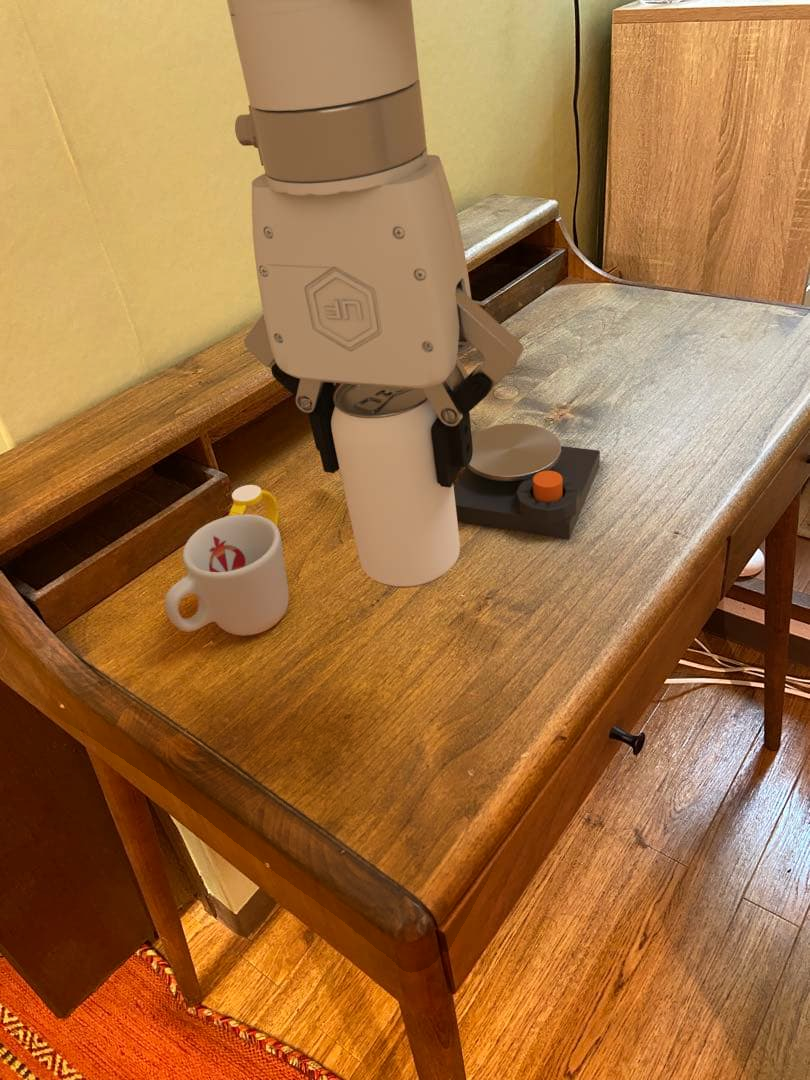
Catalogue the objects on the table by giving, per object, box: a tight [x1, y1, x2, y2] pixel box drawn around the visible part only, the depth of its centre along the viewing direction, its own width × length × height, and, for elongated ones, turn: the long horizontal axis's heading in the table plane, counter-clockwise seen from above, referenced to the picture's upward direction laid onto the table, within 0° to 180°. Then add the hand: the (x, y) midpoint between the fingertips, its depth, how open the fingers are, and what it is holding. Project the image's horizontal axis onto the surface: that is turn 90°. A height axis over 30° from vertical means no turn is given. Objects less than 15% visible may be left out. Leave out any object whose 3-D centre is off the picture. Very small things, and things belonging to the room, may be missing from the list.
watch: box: [228, 484, 280, 527], centre depth 77 cm, size 6×3×6 cm, turn 151°
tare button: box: [533, 471, 563, 502], centre depth 74 cm, size 3×3×2 cm
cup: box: [164, 513, 290, 636], centre depth 68 cm, size 11×8×8 cm
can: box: [331, 383, 461, 589], centre depth 49 cm, size 6×6×12 cm
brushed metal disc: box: [467, 422, 562, 481], centre depth 79 cm, size 9×9×1 cm
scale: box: [453, 445, 601, 540], centre depth 79 cm, size 12×13×4 cm
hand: (395, 464), depth 48 cm, fingers closed on can, 6 cm apart
